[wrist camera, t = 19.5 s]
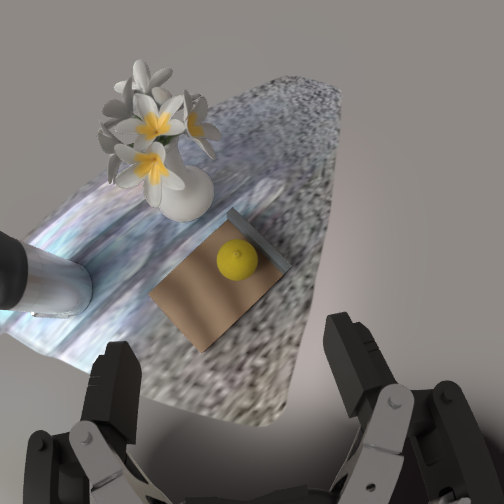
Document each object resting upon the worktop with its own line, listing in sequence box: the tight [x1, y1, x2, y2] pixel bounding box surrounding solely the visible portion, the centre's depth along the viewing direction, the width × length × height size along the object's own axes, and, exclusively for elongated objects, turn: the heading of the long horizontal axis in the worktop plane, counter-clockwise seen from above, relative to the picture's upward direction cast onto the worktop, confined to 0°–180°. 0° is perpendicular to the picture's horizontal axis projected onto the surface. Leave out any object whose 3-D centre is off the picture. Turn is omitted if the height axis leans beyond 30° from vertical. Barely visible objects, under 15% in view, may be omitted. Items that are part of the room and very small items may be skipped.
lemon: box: [217, 239, 258, 281], centre depth 39 cm, size 6×6×8 cm
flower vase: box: [96, 60, 221, 222], centre depth 34 cm, size 13×18×25 cm
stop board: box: [149, 207, 292, 353], centre depth 42 cm, size 18×12×4 cm, turn 134°
